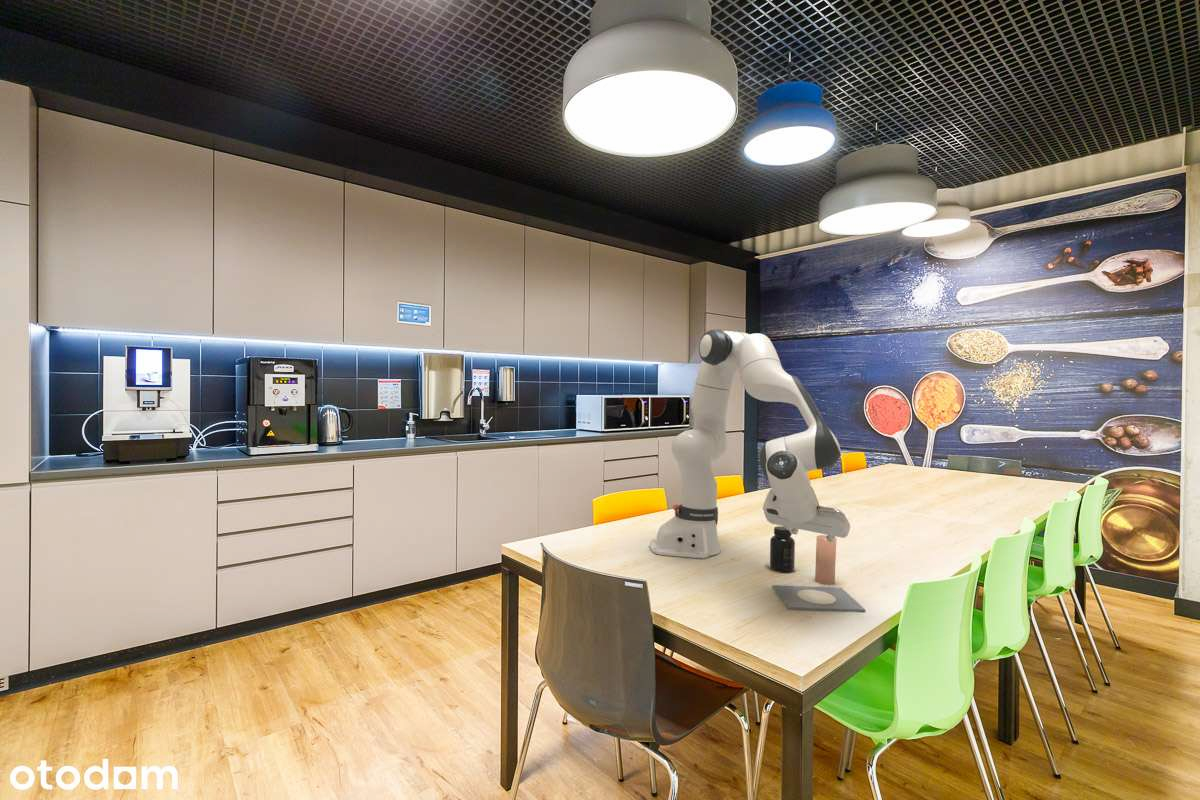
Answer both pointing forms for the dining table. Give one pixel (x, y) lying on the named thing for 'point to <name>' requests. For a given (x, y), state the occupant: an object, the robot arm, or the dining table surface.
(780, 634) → the dining table surface
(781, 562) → the supplement bottle
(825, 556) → the terracotta tube
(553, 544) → the dining table surface
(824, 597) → the card
